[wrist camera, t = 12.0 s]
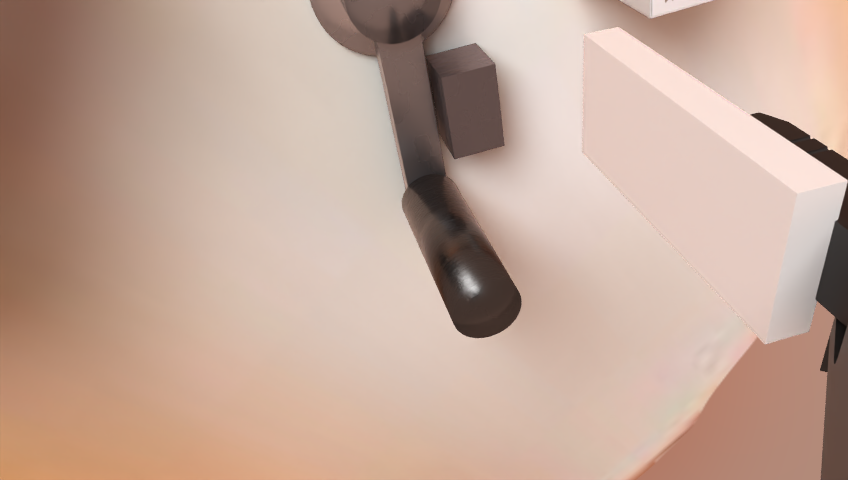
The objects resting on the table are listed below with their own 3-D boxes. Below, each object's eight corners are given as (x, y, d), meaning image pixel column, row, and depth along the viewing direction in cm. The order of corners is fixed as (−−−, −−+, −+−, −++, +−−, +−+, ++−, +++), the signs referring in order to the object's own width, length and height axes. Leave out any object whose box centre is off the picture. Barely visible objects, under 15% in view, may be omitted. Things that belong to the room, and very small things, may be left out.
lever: (327, -55, 37) (375, 19, 27) (458, -87, 38) (552, -26, 28) (392, 222, 47) (444, 350, 37) (495, 193, 48) (573, 310, 38)
